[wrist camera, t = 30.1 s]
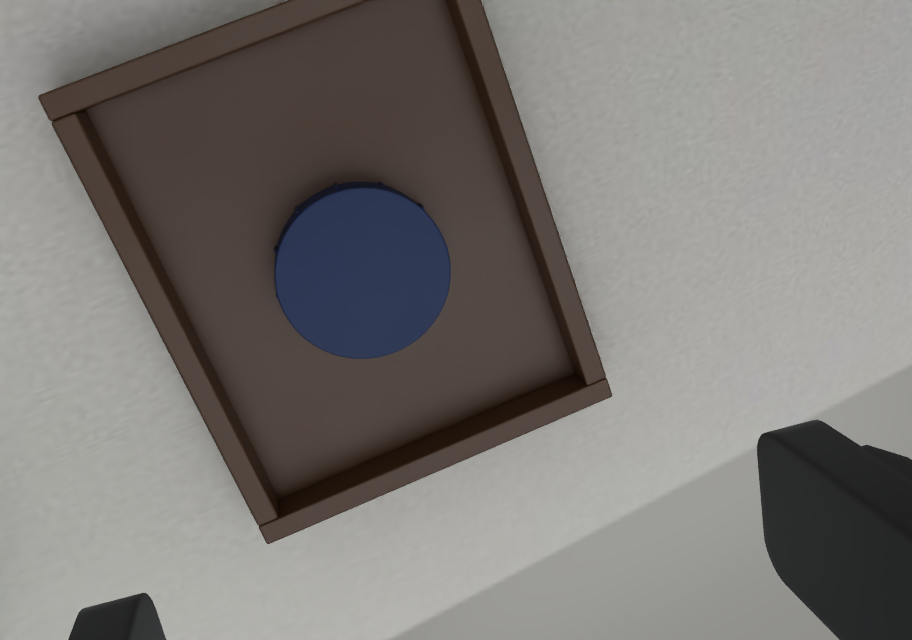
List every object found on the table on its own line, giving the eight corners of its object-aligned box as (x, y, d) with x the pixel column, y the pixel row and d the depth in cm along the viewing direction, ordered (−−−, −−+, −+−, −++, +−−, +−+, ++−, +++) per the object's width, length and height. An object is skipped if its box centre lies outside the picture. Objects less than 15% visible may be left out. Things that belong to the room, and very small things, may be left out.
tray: (593, 377, 34) (613, 396, 32) (268, 517, 33) (267, 545, 31) (447, -56, 29) (459, -66, 27) (53, 94, 28) (36, 96, 26)
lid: (324, 149, 29) (326, 154, 28) (472, 231, 31) (482, 239, 30) (244, 300, 30) (242, 312, 29) (393, 371, 32) (398, 387, 30)
